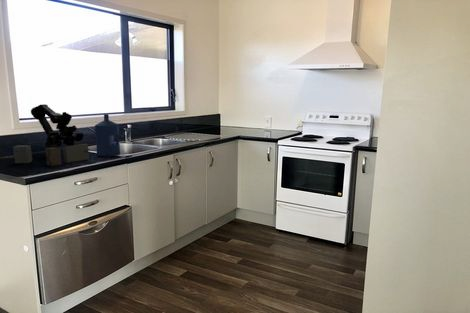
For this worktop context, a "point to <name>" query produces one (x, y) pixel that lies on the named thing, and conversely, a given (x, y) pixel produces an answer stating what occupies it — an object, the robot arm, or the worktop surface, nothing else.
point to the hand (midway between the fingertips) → (73, 148)
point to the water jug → (107, 137)
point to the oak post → (53, 156)
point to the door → (75, 153)
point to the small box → (22, 154)
